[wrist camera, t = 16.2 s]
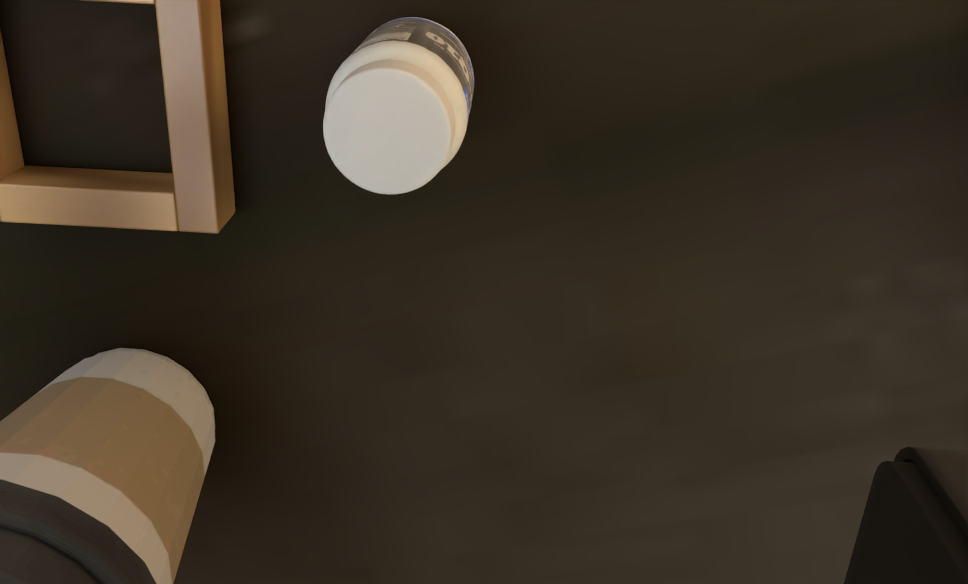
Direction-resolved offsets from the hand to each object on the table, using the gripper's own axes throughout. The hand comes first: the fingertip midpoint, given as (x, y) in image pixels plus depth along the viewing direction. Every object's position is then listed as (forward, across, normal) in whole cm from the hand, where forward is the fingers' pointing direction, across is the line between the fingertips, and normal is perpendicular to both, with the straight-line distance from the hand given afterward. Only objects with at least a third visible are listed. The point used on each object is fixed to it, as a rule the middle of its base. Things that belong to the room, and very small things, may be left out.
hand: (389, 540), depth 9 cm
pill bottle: (+28, +2, +1) cm, 29 cm away
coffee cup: (+28, +15, +18) cm, 37 cm away
